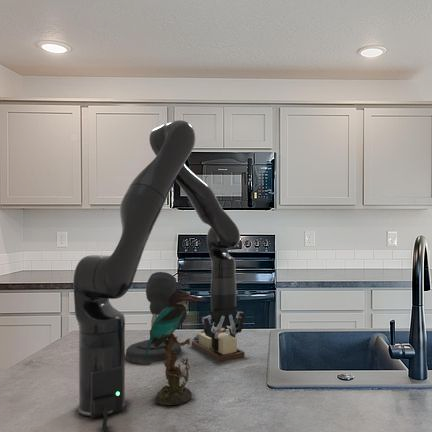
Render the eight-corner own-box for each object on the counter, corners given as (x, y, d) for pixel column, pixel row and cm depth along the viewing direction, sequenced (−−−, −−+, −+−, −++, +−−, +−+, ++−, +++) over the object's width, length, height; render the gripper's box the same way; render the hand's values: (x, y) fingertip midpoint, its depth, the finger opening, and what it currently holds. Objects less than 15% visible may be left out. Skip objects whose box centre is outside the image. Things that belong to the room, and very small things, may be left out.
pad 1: (222, 349, 139) (222, 336, 139) (209, 352, 136) (209, 339, 136) (211, 343, 146) (211, 331, 146) (198, 345, 143) (198, 333, 143)
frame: (244, 358, 132) (244, 352, 132) (219, 364, 127) (219, 357, 127) (214, 343, 148) (214, 337, 148) (191, 347, 143) (191, 341, 143)
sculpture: (202, 407, 98) (202, 293, 98) (139, 406, 99) (139, 292, 99) (211, 392, 106) (211, 287, 106) (153, 391, 107) (153, 286, 107)
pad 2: (236, 351, 132) (236, 338, 132) (223, 354, 129) (223, 340, 129) (224, 345, 138) (224, 332, 138) (210, 347, 136) (210, 334, 136)
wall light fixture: (189, 270, 148) (173, 275, 128) (189, 346, 147) (172, 364, 127) (142, 270, 148) (118, 275, 128) (141, 346, 147) (117, 363, 127)
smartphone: (226, 328, 164) (214, 339, 149) (226, 330, 164) (214, 342, 149) (206, 327, 165) (192, 338, 150) (206, 329, 165) (192, 340, 150)
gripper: (206, 296, 126) (207, 356, 126) (250, 290, 135) (250, 347, 135) (195, 292, 133) (196, 350, 133) (238, 287, 141) (238, 342, 141)
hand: (223, 348), depth 134 cm, fingers closed on pad 2, 4 cm apart
